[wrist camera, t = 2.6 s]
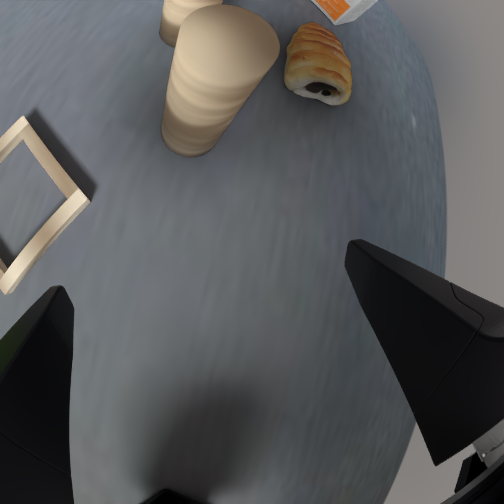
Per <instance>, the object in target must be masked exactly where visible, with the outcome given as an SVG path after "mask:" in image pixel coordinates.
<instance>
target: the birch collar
mask: <svg viewBox="0 0 504 504" xmlns="http://www.w3.org/2000/svg"><path fill="white" fill-rule="evenodd" d="M22 140H24V141H25V143H26V144H27V146H28V147H29V148H30V150H31V151H32V153H33V154H34V155H35V157H36V158H37V160H38V161H39V162H40V164H41V165H42V166H43V168H44V169H45V170H46V172H47V173H48V174H49V176H50V177H51V178H52V179H53V181H54V182H55V183H56V185H57V186H58V187H59V188H60V190H61V191H62V192H63V193H64V195H65V196H66V197H67V198H68V200H67V201H66V202H65V203H64V204H63V205H62V206H61V207H60V208H59V209H58V210H57V211H56V212H55V213H54V214H53V215H52V216H51V218H50V219H49V220H48V221H47V222H46V223H45V224H44V225H43V227H42V228H41V229H40V230H39V231H38V232H37V233H36V235H35V236H34V237H33V238H32V239H31V241H30V242H29V243H28V244H27V245H26V247H25V248H24V249H23V250H22V252H21V253H20V254H19V255H18V257H17V258H16V259H15V260H14V262H13V263H12V264H11V266H10V267H9V268H7V267H6V265H5V264H4V262H3V261H2V260H1V258H0V288H1V290H2V291H3V292H4V294H5V295H6V294H10V293H12V292H13V291H14V289H15V288H16V287H17V285H18V284H19V283H20V282H21V280H22V279H23V278H24V276H25V275H26V274H27V273H28V271H29V270H30V269H31V268H32V266H33V265H34V264H35V263H36V261H37V260H38V259H39V258H40V257H41V255H42V254H43V253H44V252H45V251H46V250H47V248H48V247H49V246H50V245H51V244H52V243H53V242H54V240H55V239H56V238H57V237H58V236H59V235H60V234H61V233H62V232H63V230H64V229H65V228H66V227H67V226H68V225H69V224H70V223H71V222H72V221H73V220H74V219H75V218H76V217H77V216H78V215H79V214H80V212H81V211H82V210H83V209H84V208H85V207H86V206H87V205H88V204H89V203H90V201H89V199H88V198H87V197H86V196H85V195H84V193H83V192H82V191H81V190H80V189H79V187H78V186H77V185H76V184H75V182H74V181H73V180H72V179H71V178H70V176H69V175H68V174H67V173H66V171H65V170H64V169H63V168H62V166H61V165H60V164H59V162H58V161H57V160H56V159H55V157H54V156H53V155H52V153H51V152H50V151H49V149H48V148H47V147H46V145H45V144H44V143H43V141H42V140H41V139H40V137H39V136H38V135H37V133H36V132H35V131H34V129H33V128H32V126H31V125H30V124H29V122H28V121H27V120H26V118H25V117H24V116H22V117H21V118H20V119H19V120H18V121H17V122H16V123H15V124H14V125H13V126H12V127H11V128H10V129H9V130H8V131H7V132H6V133H5V134H4V135H3V136H2V137H1V138H0V163H1V162H2V161H3V160H4V159H5V158H6V157H7V156H8V155H9V154H10V152H11V151H12V150H13V149H14V148H15V147H16V146H17V145H18V144H19V143H20V142H21V141H22Z"/></svg>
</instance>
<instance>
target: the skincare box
mask: <svg viewBox="0 0 504 504" xmlns="http://www.w3.org/2000/svg"><path fill="white" fill-rule="evenodd" d="M311 1H312V2H313V3H314V4H315V5H316V6H317V7H318V8H319V9H320V10H321V11H322V12H323V13H324V14H325V15H326V16H327V17H328V18H329V19H330V20H331V22H332V23H333V24H334V25H335V26H336V25H340V24H343V23H348V22H352V21H354V20H356V19H357V18H358V17H359V16H360V15H361V14H363V13H364V12H365V11H366V10H367V9H368V8H370V7H371V6H372V5H373V4H374V3H376V2H377V1H378V0H311Z"/></svg>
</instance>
